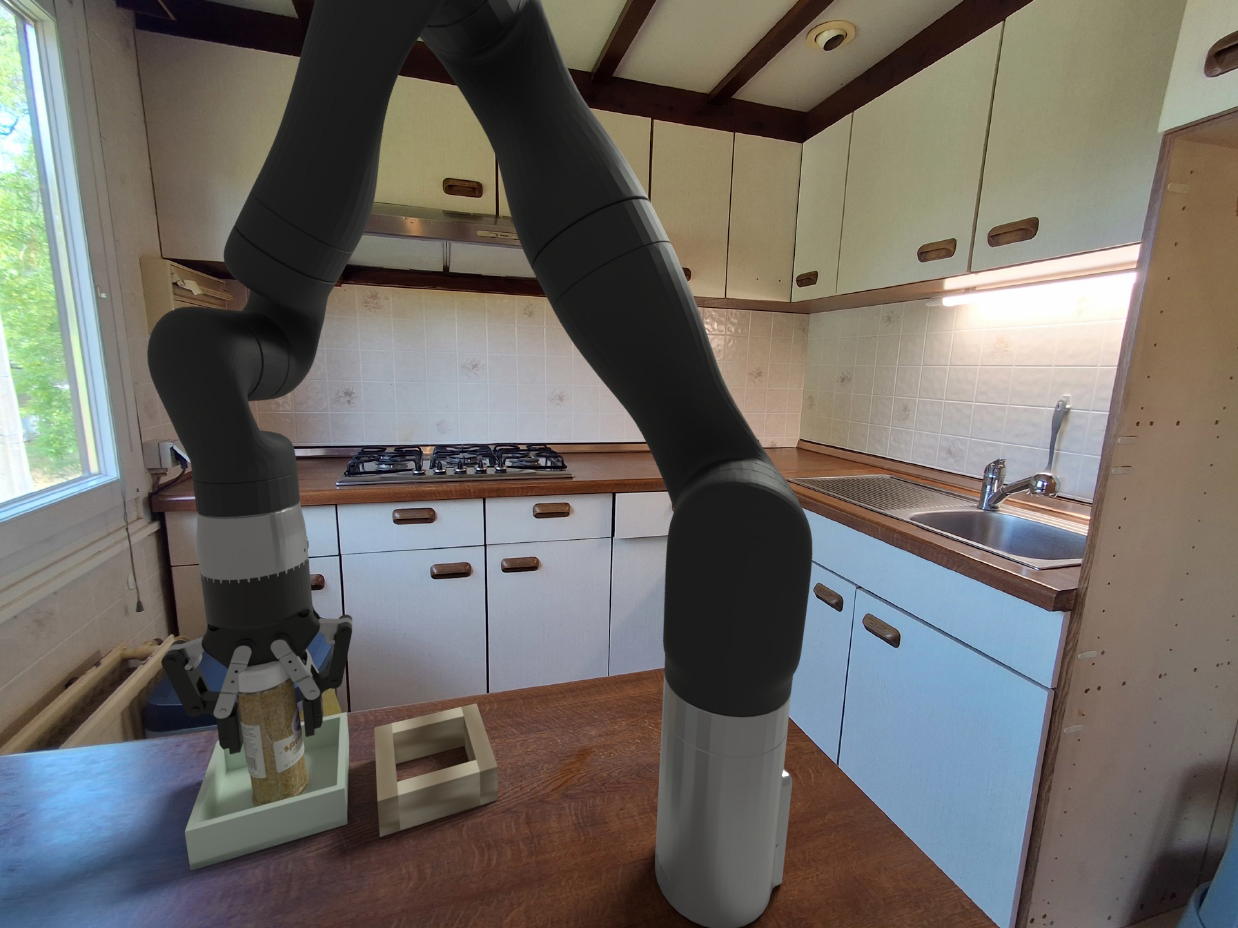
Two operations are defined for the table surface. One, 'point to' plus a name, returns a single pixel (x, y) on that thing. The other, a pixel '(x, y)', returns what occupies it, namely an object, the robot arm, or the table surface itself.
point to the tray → (241, 828)
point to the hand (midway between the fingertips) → (275, 738)
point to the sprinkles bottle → (271, 733)
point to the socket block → (440, 788)
